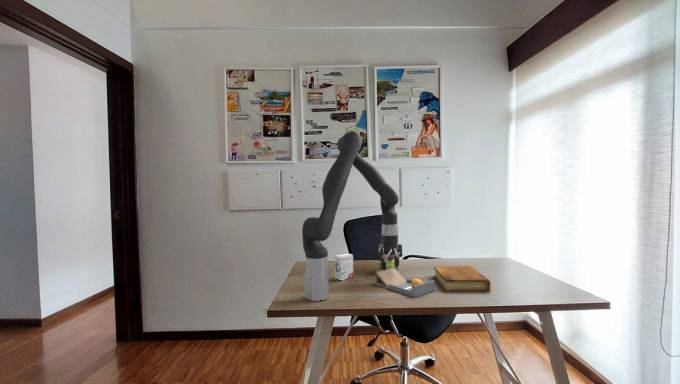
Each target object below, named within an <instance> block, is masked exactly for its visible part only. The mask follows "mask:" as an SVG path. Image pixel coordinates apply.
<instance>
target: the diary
mask: <svg viewBox="0 0 680 384" xmlns="http://www.w3.org/2000/svg"><path fill="white" fill-rule="evenodd" d="M433 269H434V275H433V278H434V279H435V280H436V281H437V282H438V284H439V285H440V286H441V287H442V288H443V290H444V291H445V292H448V293H451V292H452V293H455V292H457V293H458V292H459V293H460V292H467V293H468V292H469V293H470V292H477V293H478V292H479V293H480V292H483V293H484V292H486V293H487V292H488V293H489V292H491V290H492V289H491V287H492V286H491V281H490V280H489V279H488V278H487V277H485V276H484V275H483V274H482V273H480V272H479V271H478V270H476V269H475V268H473V267H472V266H471V265H469V266H468V265H451V266H450V265H444V266H442V265H439V266H438V265H434V266H433Z"/></svg>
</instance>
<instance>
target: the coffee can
mask: <svg viewBox="0 0 680 384" xmlns="http://www.w3.org/2000/svg"><path fill="white" fill-rule="evenodd" d="M378 248H383V244H382V243H380V244H378ZM385 255H386V254H385ZM384 258H385V257H384ZM394 258H395V257H394V256H393V255H391V256H389V257H388V258H387V260H386V269H388V268H392V267H395V269H396V270H397V271H398V272H399V267H396V266H394ZM380 270H382V268H381V261H378V271H380Z"/></svg>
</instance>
